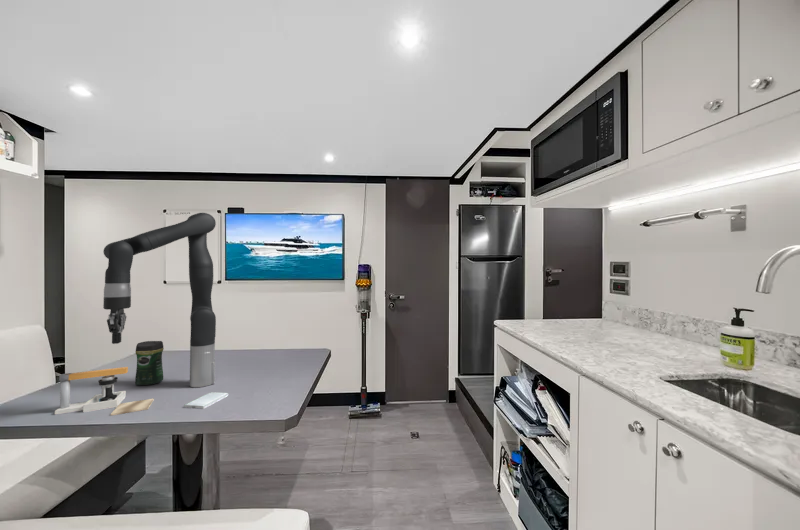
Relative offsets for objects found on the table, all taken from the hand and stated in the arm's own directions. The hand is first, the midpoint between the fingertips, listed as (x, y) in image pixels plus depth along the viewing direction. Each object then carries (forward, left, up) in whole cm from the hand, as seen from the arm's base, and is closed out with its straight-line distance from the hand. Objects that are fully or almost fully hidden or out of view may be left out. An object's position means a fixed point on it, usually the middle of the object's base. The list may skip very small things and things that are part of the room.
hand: (116, 343), depth 116 cm
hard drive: (-29, +11, -24) cm, 39 cm away
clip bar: (+7, -5, -12) cm, 15 cm away
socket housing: (+8, -5, -23) cm, 25 cm away
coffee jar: (-5, -27, -23) cm, 36 cm away
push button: (+4, -5, -23) cm, 24 cm away
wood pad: (-6, +4, -23) cm, 24 cm away
